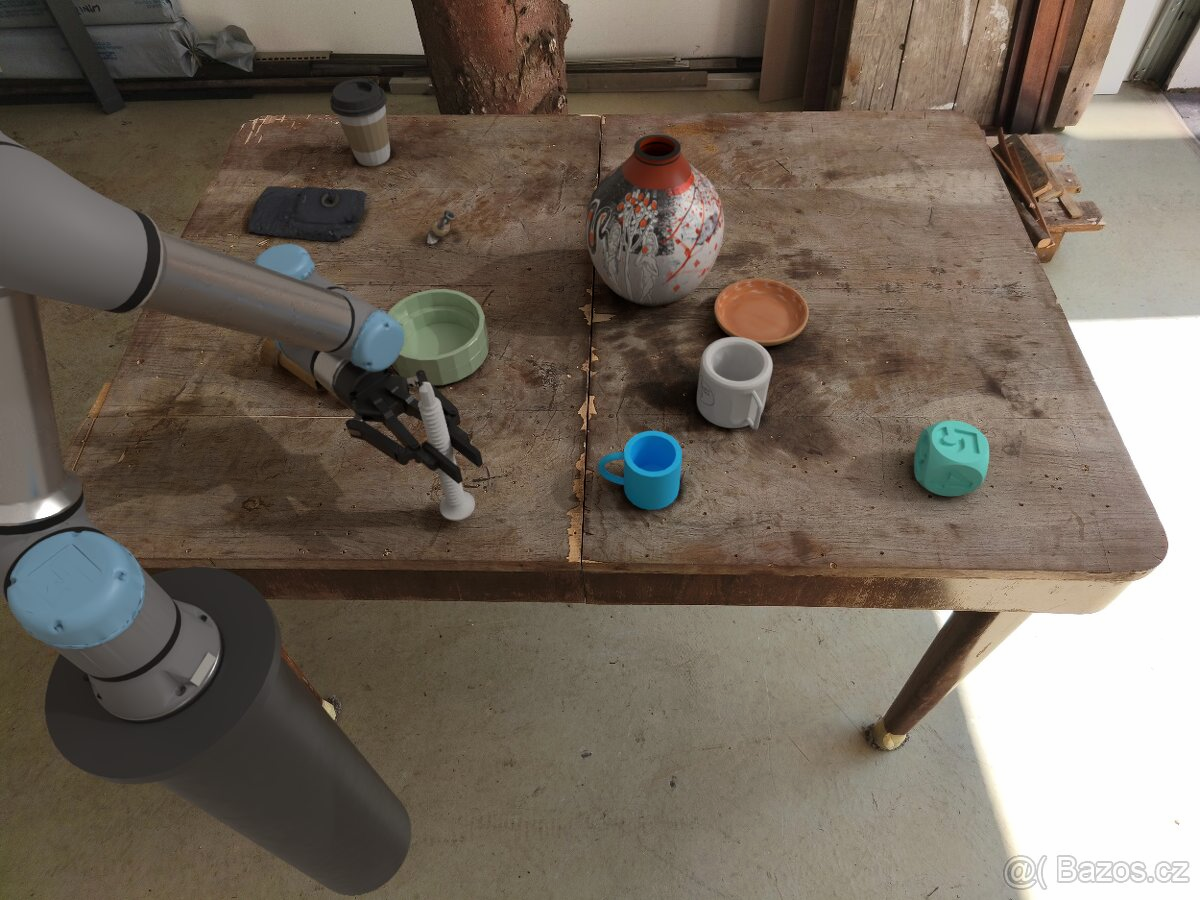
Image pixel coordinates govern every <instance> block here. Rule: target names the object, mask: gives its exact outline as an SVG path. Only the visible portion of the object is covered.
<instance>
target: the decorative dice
mask: <svg viewBox="0 0 1200 900" xmlns="http://www.w3.org/2000/svg"><path fill="white" fill-rule="evenodd" d="M989 463H990V445H989V441H988V439H987V437H986V436H985V435H984V433H983V432H981V430H979V429H978V428H976V427H975V426H974V425H972V424H969V423H967V422H965V421H960V420H949V419H948V420H941V421H938V422H935V423H932V424H930V425H929V426H927V427H925V428H924V429H923V430H922V431H921V432H920V434H919V436H918V438H917V442H916V446H915V451H914V458H913V470H914V471H913V472H914V477H915V479H916V481H917V482H918V483H919V485H921V486H922V487H923V488H924V489H925V490H927V491H929V492H931V493H933V494H935V495H938V496H943V497H959V496H964V495H967V494H970V493H972V492H974V491H976V490H977V489H978V488H979V487H980V486H982V485H983V483H984V481H985V479H986V476H987V474H988V473H987V472H988V469H989Z"/></svg>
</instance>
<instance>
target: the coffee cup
mask: <svg viewBox="0 0 1200 900" xmlns="http://www.w3.org/2000/svg"><path fill="white" fill-rule="evenodd" d="M387 100H388V98H387V95H386V93H385V90H384V89H383V88H382V87H381V86H379V85H378V83H377V82H376V81H374V80H371V79H369V78H362V77H361V78H352V79H351V78H350V79H348V80H347V79H346V80H344V81H342V82H340V83H339V84H336V86H335V87H334V88H333V89H332V95H331V96H330V99H329V103H330V109H331V111H332V112H333V113H334V114H335V115H336V117H337V119H338V122H339V124H340V126H341V128H342V131H343V133H344V135H345V138H346V139H347V142H348V145H349V146H350V149H351V151H352V153H353V156H354V158H355V159H356V160H357V162H358V163H359V164H360V165H361V166H365V167H376V166H380V165H382V164H384V163H386V162H387V161H388V160H389V159H390V158H391V145H390V144H391V143H390V137H389V128H388V118H387V109H386V104H387V102H388V101H387Z"/></svg>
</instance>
